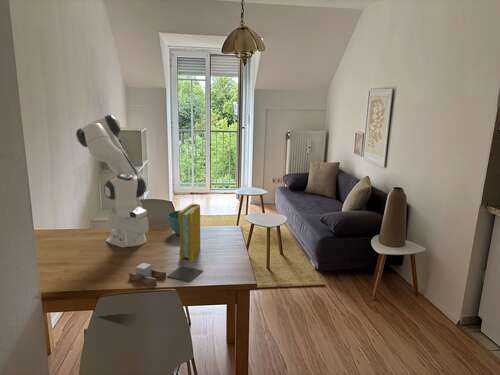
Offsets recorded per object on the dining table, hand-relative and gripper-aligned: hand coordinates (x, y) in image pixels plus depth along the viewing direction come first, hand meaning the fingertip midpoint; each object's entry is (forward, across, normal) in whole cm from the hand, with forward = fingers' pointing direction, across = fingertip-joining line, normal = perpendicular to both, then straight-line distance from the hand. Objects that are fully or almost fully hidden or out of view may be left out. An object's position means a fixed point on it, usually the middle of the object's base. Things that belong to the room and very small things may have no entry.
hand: (128, 239), depth 169 cm
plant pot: (+17, -8, +57) cm, 60 cm away
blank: (+17, +8, 0) cm, 19 cm away
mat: (+17, +23, +11) cm, 31 cm away
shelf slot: (+17, +10, 0) cm, 20 cm away
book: (+17, +12, +33) cm, 39 cm away
